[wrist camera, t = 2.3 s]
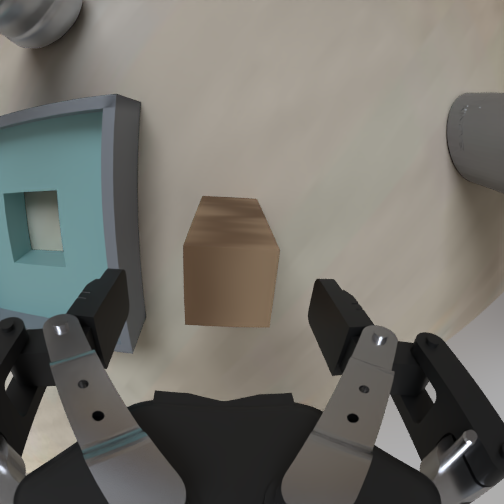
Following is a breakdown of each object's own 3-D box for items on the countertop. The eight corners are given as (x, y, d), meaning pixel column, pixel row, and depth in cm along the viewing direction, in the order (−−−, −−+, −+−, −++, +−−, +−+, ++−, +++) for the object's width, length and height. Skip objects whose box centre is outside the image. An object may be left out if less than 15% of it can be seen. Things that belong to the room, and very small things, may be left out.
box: (140, 102, 18) (116, 93, 13) (146, 316, 25) (132, 353, 20) (-14, 128, 16) (-49, 133, 11) (9, 298, 23) (-15, 323, 18)
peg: (256, 198, 21) (280, 250, 12) (252, 249, 23) (269, 327, 14) (202, 195, 21) (183, 245, 12) (200, 246, 22) (185, 324, 13)
